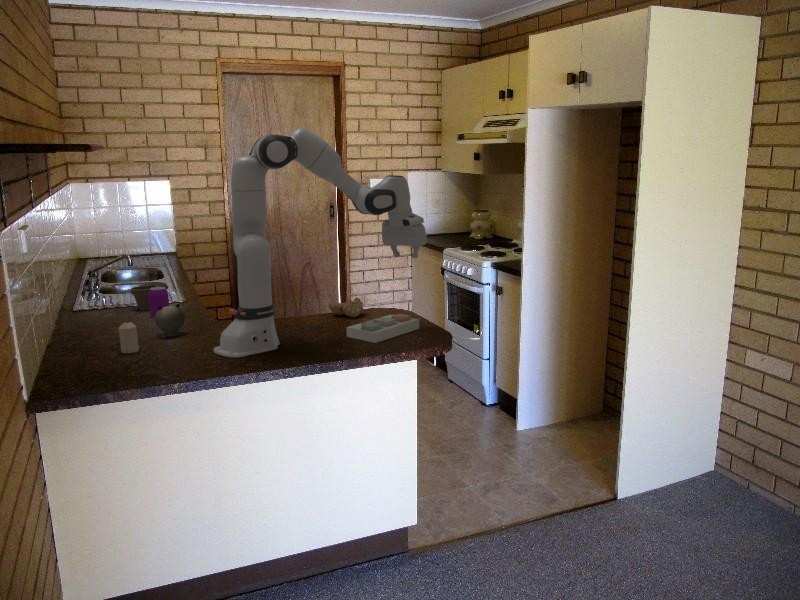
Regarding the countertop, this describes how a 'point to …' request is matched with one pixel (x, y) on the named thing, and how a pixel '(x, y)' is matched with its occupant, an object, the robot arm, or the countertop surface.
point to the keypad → (382, 330)
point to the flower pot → (142, 296)
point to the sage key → (371, 326)
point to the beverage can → (157, 299)
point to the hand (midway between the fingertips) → (406, 257)
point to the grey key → (386, 322)
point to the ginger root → (348, 307)
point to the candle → (128, 338)
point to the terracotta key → (401, 317)
